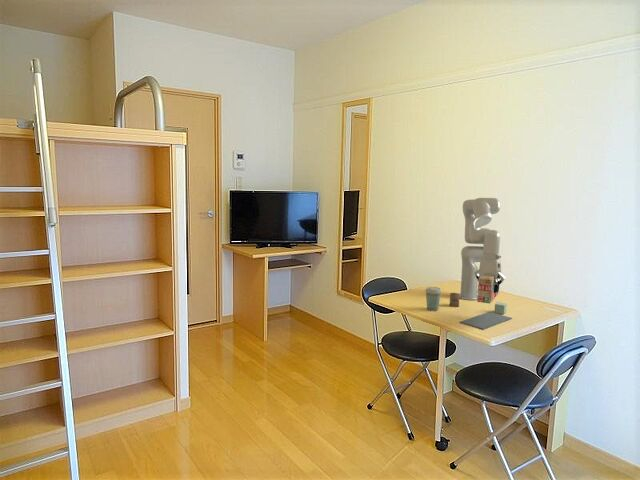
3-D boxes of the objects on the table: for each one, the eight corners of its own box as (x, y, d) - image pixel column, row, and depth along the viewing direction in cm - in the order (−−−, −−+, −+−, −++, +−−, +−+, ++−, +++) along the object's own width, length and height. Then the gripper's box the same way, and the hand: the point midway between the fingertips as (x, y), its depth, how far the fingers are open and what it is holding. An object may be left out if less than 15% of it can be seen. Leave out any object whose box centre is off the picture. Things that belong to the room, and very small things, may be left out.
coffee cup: (428, 306, 255) (429, 285, 254) (443, 309, 250) (444, 288, 248) (421, 309, 249) (422, 288, 247) (436, 312, 243) (437, 291, 242)
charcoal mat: (488, 312, 244) (489, 311, 244) (511, 318, 234) (512, 317, 234) (459, 322, 227) (460, 321, 227) (483, 329, 217) (483, 328, 217)
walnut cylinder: (453, 304, 260) (453, 292, 259) (460, 306, 257) (461, 294, 256) (447, 305, 257) (448, 293, 256) (455, 307, 254) (456, 295, 252)
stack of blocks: (485, 292, 240) (487, 269, 238) (498, 294, 237) (500, 271, 235) (477, 301, 222) (478, 277, 220) (490, 303, 219) (492, 279, 217)
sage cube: (496, 310, 248) (497, 302, 248) (506, 312, 246) (506, 303, 245) (494, 313, 244) (494, 304, 244) (503, 314, 242) (504, 305, 241)
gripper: (511, 258, 222) (508, 293, 224) (479, 253, 235) (477, 286, 237) (503, 259, 217) (500, 295, 219) (470, 254, 230) (468, 288, 233)
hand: (488, 290), depth 228 cm, fingers closed on stack of blocks, 7 cm apart
